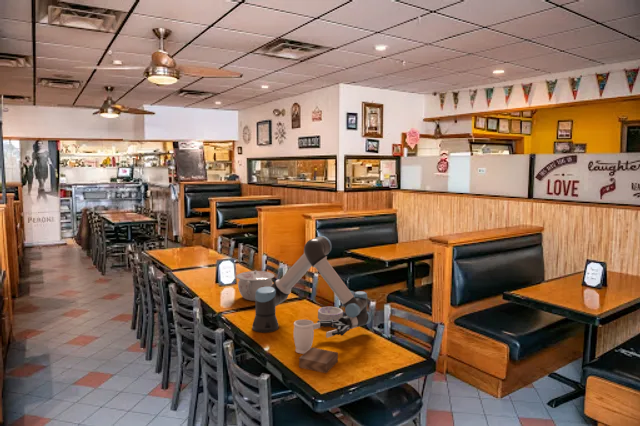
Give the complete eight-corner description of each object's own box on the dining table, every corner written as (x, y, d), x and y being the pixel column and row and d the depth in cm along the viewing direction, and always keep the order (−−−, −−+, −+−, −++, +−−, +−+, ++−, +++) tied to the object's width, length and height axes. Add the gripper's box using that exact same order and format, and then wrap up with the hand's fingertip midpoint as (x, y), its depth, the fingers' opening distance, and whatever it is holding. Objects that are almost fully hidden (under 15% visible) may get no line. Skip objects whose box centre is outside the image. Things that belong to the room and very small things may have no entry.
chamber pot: (261, 291, 345) (261, 264, 343) (282, 299, 324) (282, 270, 322) (228, 297, 327) (228, 269, 325) (248, 306, 306) (247, 276, 304)
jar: (310, 355, 228) (311, 326, 226) (291, 353, 230) (291, 325, 228) (315, 347, 238) (315, 320, 237) (296, 345, 240) (296, 318, 239)
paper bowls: (334, 329, 266) (334, 315, 265) (313, 324, 274) (313, 311, 273) (347, 321, 279) (347, 309, 278) (326, 317, 287) (326, 304, 286)
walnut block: (299, 368, 215) (299, 357, 214) (311, 357, 227) (311, 347, 227) (326, 374, 209) (326, 363, 208) (337, 362, 222) (337, 352, 221)
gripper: (363, 335, 244) (333, 345, 230) (332, 323, 263) (303, 331, 249) (363, 322, 243) (334, 330, 229) (333, 310, 262) (303, 318, 249)
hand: (318, 331), depth 239 cm, fingers open, 13 cm apart
